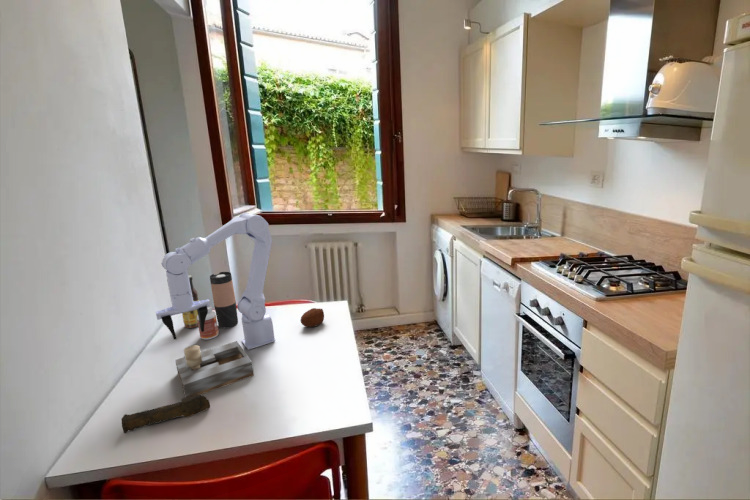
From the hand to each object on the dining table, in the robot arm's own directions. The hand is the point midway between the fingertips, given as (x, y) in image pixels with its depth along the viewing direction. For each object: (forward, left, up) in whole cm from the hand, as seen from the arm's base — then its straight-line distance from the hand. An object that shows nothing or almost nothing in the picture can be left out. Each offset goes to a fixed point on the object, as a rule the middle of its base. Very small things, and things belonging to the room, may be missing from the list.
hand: (188, 334), depth 115 cm
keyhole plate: (-4, +10, -10) cm, 15 cm away
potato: (-41, -1, -11) cm, 42 cm away
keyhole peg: (+1, +10, -9) cm, 14 cm away
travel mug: (-16, -24, -11) cm, 31 cm away
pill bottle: (-8, -18, -11) cm, 22 cm away
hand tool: (+10, +23, -11) cm, 27 cm away
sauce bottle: (-5, -32, -11) cm, 34 cm away
